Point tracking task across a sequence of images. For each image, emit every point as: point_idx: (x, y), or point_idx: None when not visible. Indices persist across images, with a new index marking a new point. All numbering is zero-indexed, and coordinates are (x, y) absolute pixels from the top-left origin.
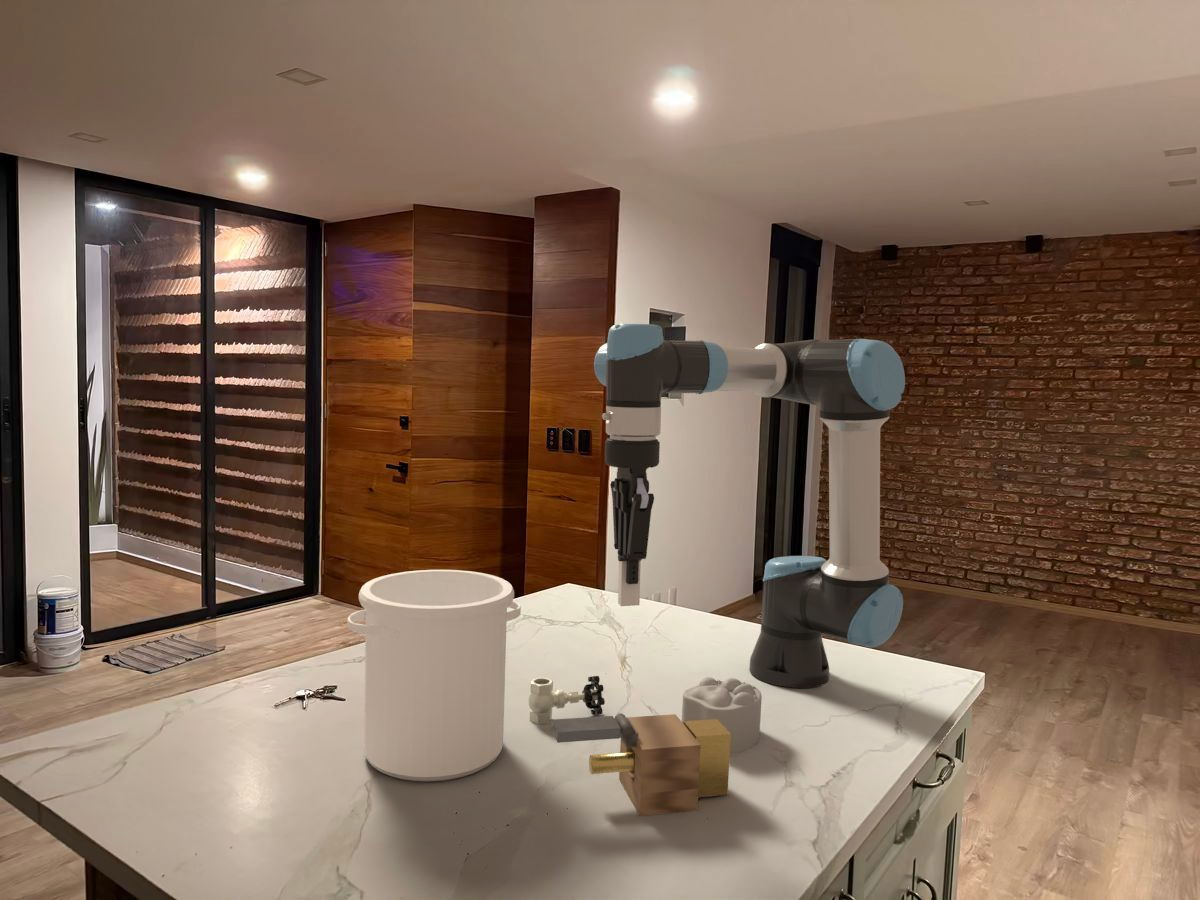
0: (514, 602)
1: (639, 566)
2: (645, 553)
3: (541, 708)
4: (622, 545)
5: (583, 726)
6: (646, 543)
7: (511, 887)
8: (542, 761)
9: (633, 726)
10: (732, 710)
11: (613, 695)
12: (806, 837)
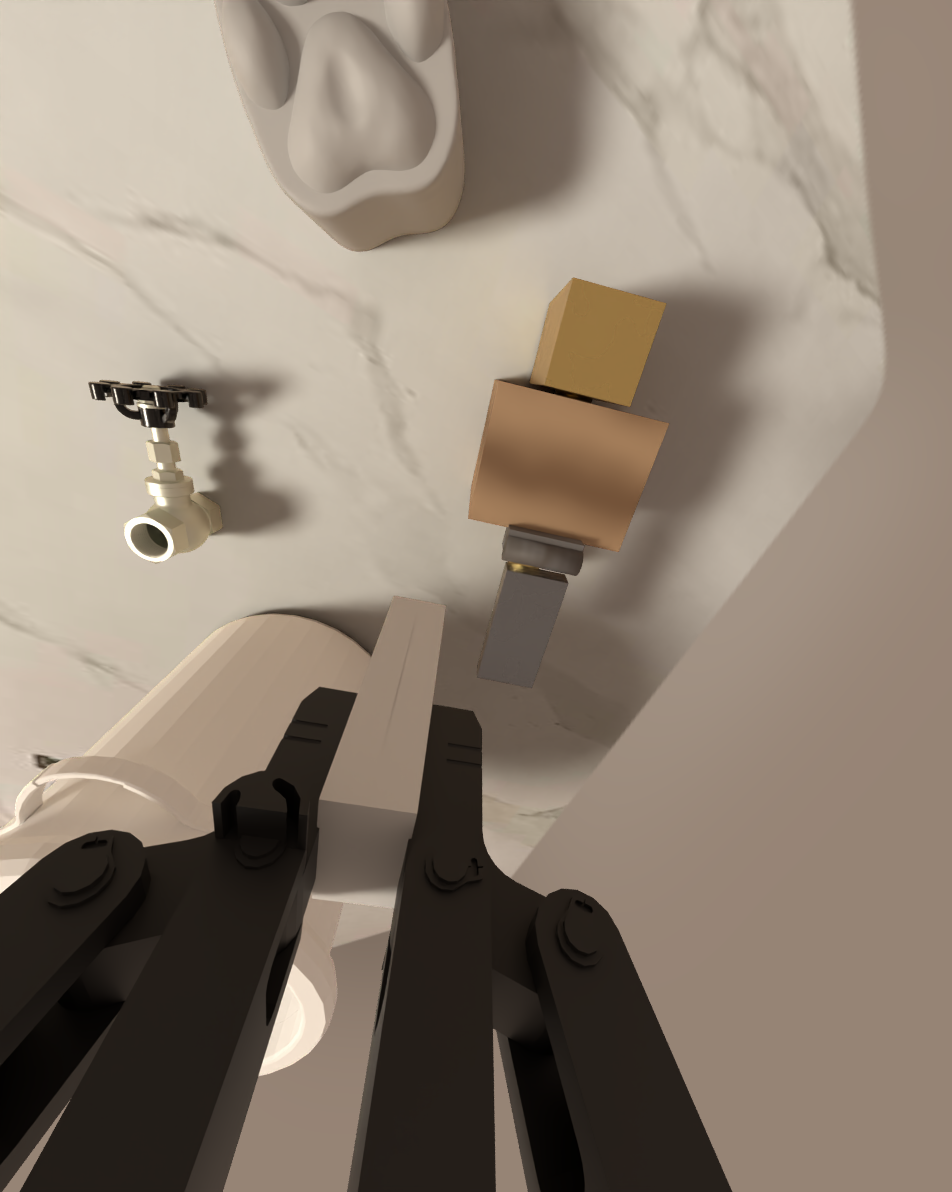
0: (63, 778)
1: (420, 767)
2: (631, 977)
3: (207, 533)
4: (271, 1023)
5: (528, 641)
6: (709, 1160)
7: (637, 707)
8: (370, 574)
9: (550, 539)
10: (458, 108)
11: (67, 284)
12: (810, 260)
